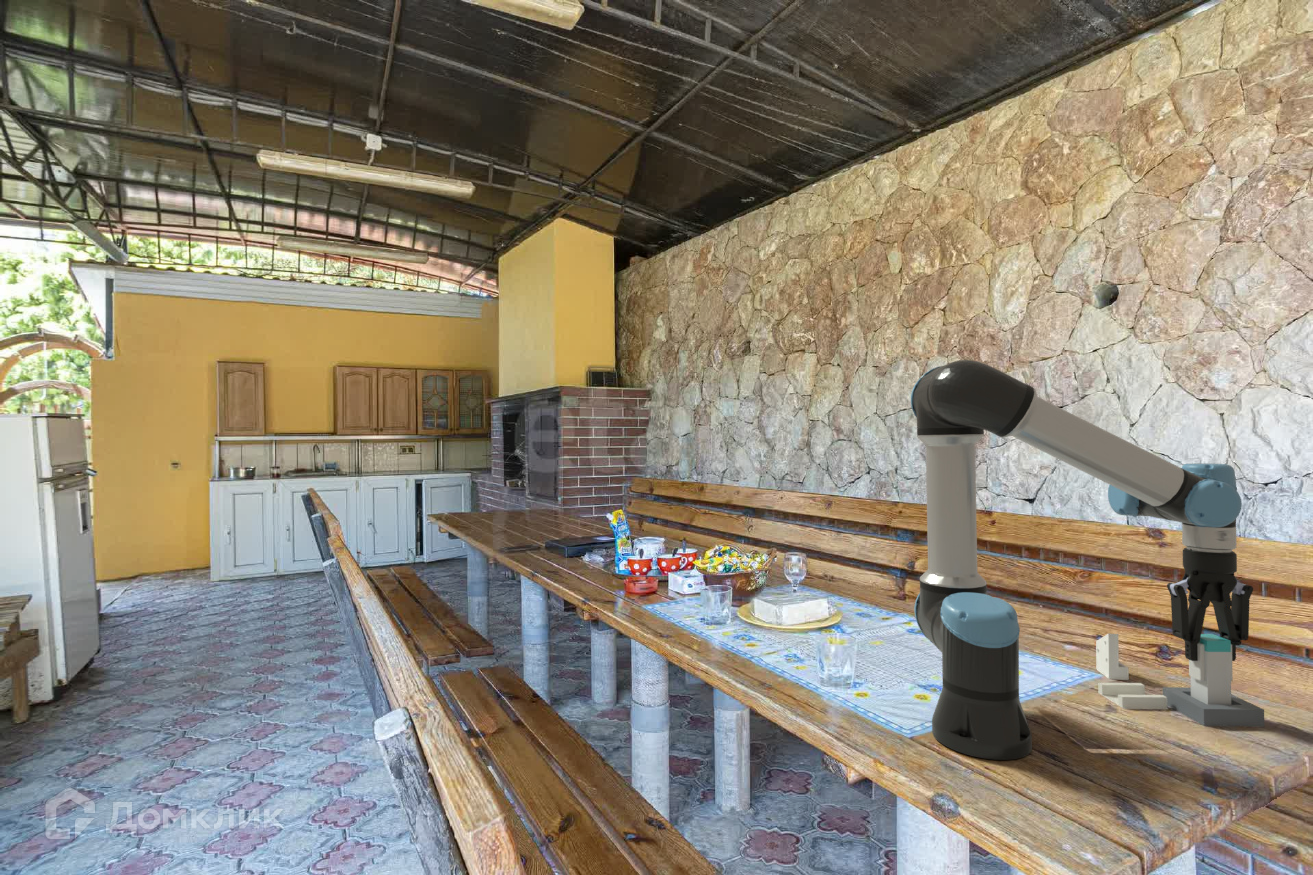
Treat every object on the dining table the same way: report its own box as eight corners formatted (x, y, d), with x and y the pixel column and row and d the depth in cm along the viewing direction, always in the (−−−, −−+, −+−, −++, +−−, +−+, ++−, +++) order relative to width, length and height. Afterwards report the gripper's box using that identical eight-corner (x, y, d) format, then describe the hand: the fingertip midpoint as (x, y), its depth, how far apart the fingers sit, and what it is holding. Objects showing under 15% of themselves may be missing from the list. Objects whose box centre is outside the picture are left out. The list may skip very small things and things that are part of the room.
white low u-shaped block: (1123, 711, 122) (1123, 697, 122) (1097, 695, 130) (1097, 681, 130) (1168, 712, 121) (1168, 698, 121) (1139, 695, 129) (1139, 682, 129)
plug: (1208, 719, 117) (1207, 640, 117) (1191, 710, 121) (1190, 633, 121) (1231, 719, 117) (1230, 640, 117) (1213, 710, 121) (1212, 633, 121)
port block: (1203, 729, 114) (1203, 709, 114) (1161, 705, 124) (1160, 686, 124) (1266, 730, 114) (1266, 709, 114) (1218, 705, 124) (1218, 687, 124)
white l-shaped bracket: (1119, 677, 132) (1108, 633, 137) (1099, 686, 141) (1090, 644, 145) (1139, 678, 132) (1128, 634, 136) (1118, 687, 140) (1108, 645, 144)
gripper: (1175, 552, 116) (1176, 685, 116) (1277, 552, 115) (1278, 686, 115) (1145, 545, 123) (1147, 670, 123) (1241, 545, 122) (1242, 671, 122)
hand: (1210, 677), depth 119 cm, fingers closed on plug, 4 cm apart
